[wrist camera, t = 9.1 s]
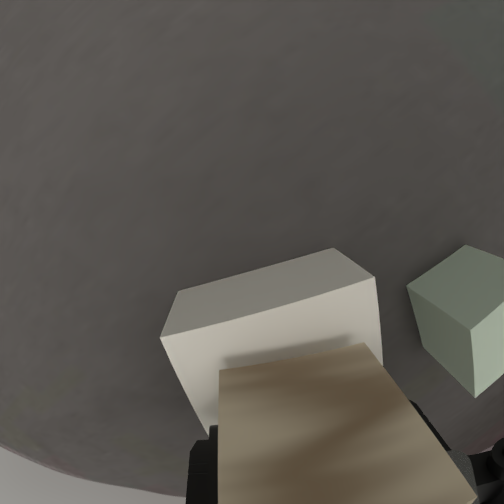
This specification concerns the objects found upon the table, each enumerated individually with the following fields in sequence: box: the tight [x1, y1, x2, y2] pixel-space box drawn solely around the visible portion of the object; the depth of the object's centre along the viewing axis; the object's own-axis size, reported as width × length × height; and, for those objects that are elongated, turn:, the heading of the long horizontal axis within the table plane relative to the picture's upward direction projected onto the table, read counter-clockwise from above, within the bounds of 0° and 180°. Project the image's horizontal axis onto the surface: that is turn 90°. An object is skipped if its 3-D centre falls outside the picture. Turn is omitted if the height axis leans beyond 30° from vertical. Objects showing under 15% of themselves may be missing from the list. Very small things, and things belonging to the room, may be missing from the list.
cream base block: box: [160, 248, 383, 436], centre depth 14 cm, size 8×8×5 cm
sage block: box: [406, 245, 504, 398], centre depth 14 cm, size 5×5×6 cm
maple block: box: [218, 342, 477, 504], centre depth 7 cm, size 5×5×7 cm
